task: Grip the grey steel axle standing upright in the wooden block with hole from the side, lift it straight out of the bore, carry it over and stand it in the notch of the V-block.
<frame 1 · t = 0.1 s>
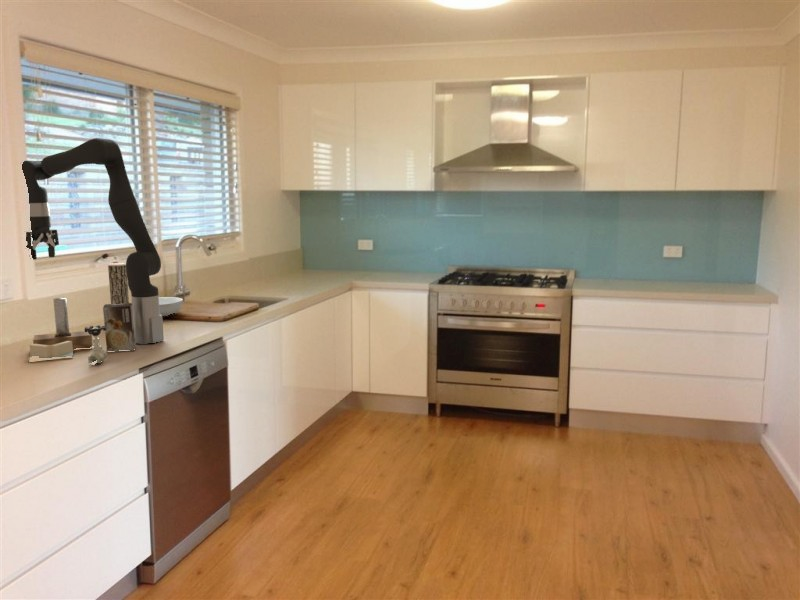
hand: (42, 258, 257), 29 cm above the table, tool pointing down, fingers open, 8 cm apart
v block: (52, 356, 228), on the table
serving bowl: (158, 316, 297), on the table
wooden log: (121, 325, 279), on the table
coffee box: (121, 350, 237), on the table
valve: (98, 364, 220), on the table
wooden block with hole: (64, 349, 239), on the table
axle: (62, 324, 237), in the wooden block with hole
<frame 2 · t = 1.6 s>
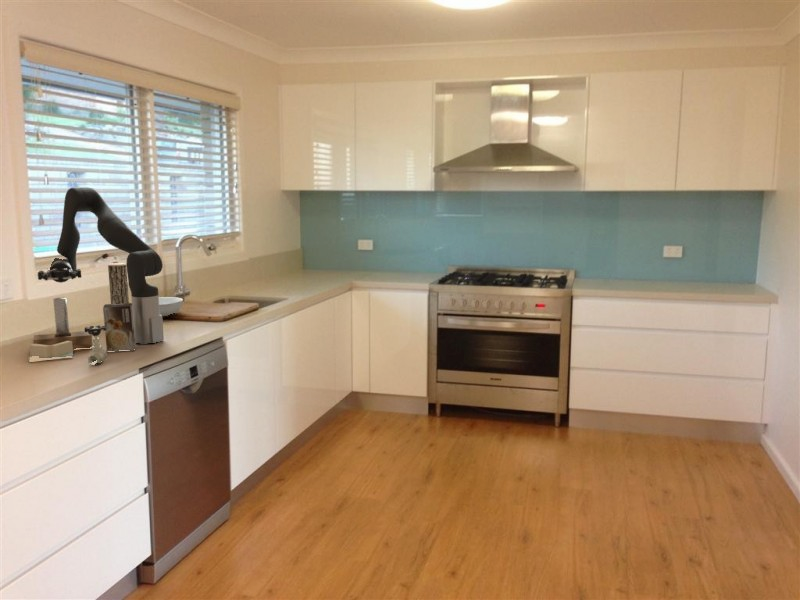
hand: (59, 277, 244), 24 cm above the table, tool horizontal, fingers open, 8 cm apart
nothing on the table moved.
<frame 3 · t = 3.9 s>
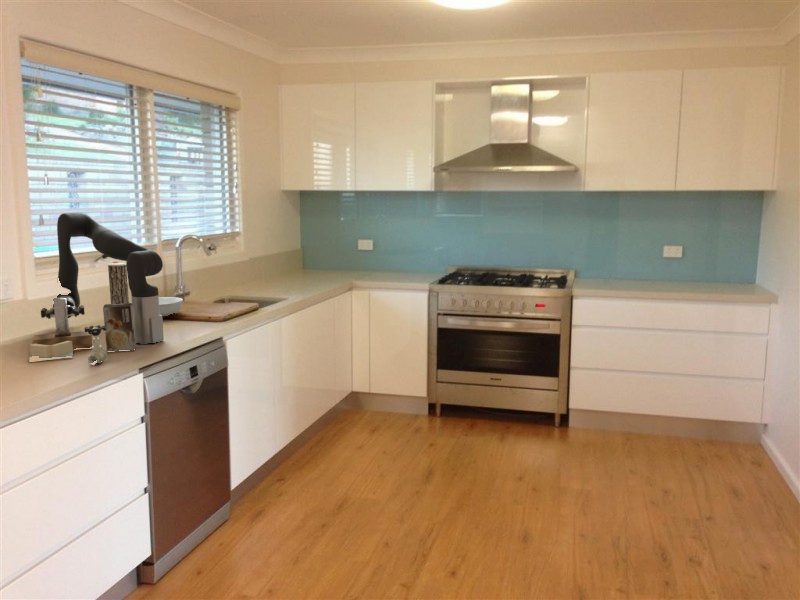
hand: (62, 314, 242), 11 cm above the table, tool horizontal, fingers open, 8 cm apart
nothing on the table moved.
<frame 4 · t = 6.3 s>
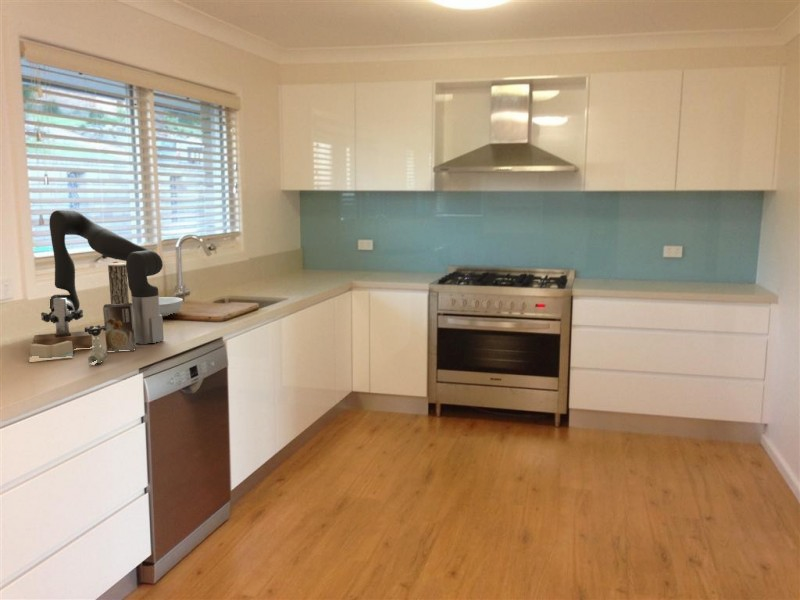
hand: (61, 319, 234), 11 cm above the table, tool horizontal, fingers closed on axle, 4 cm apart
axle: (62, 323, 237), in the wooden block with hole, touching gripper
everything else where it was.
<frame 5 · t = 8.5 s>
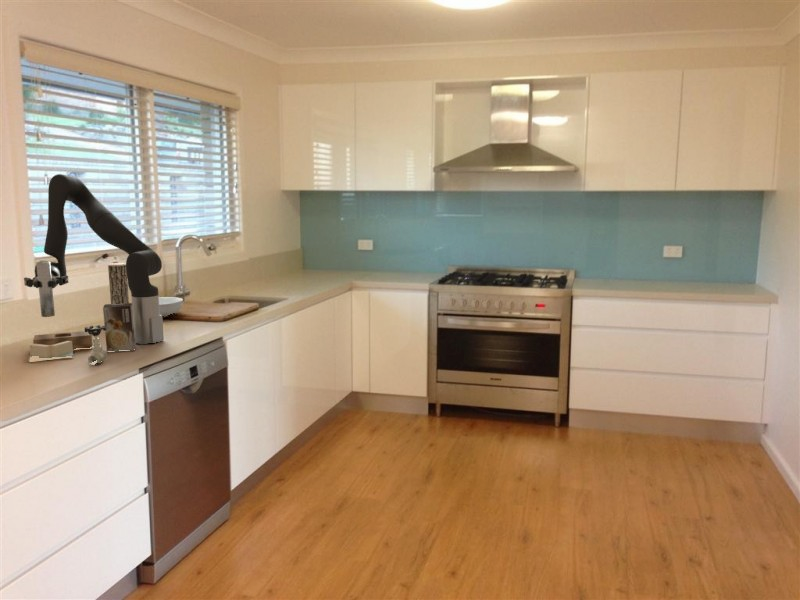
hand: (44, 284, 223), 25 cm above the table, tool horizontal, fingers closed on axle, 4 cm apart
axle: (45, 289, 226), point 23 cm above the table, touching gripper
everything else where it was.
when the fingers open (13 cm above the table, at t = 11.0 s): axle drops 1 cm, resting on v block.
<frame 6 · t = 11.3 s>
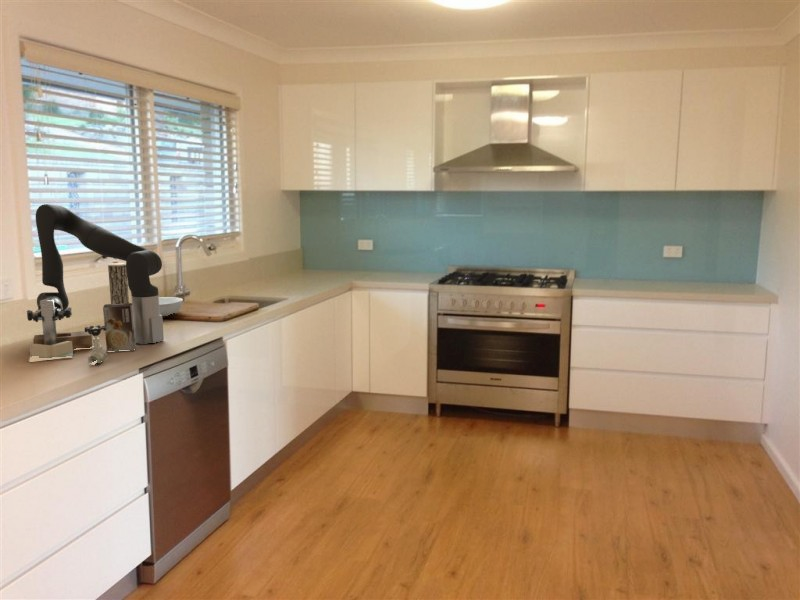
hand: (48, 317, 225), 13 cm above the table, tool horizontal, fingers open, 6 cm apart
axle: (49, 326, 227), point 10 cm above the table, touching v block
everything else where it was.
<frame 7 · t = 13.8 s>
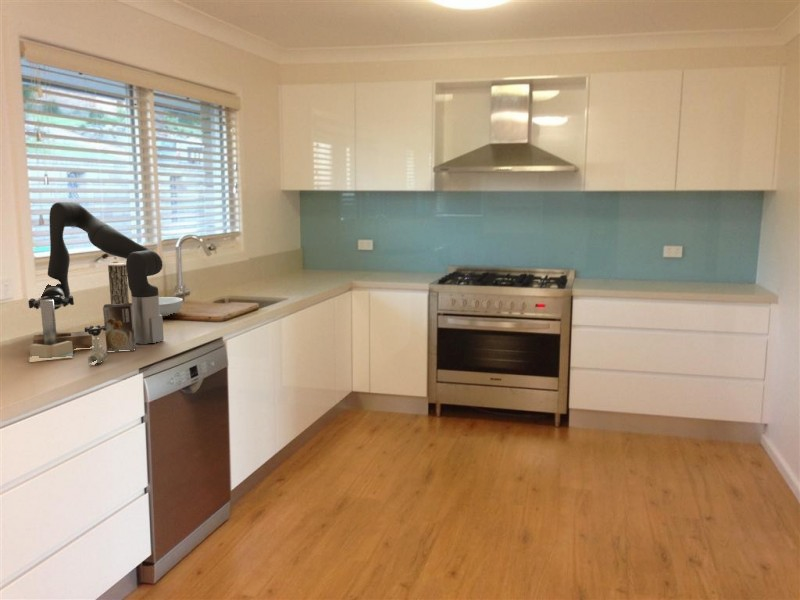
hand: (50, 304, 237), 16 cm above the table, tool horizontal, fingers open, 8 cm apart
nothing on the table moved.
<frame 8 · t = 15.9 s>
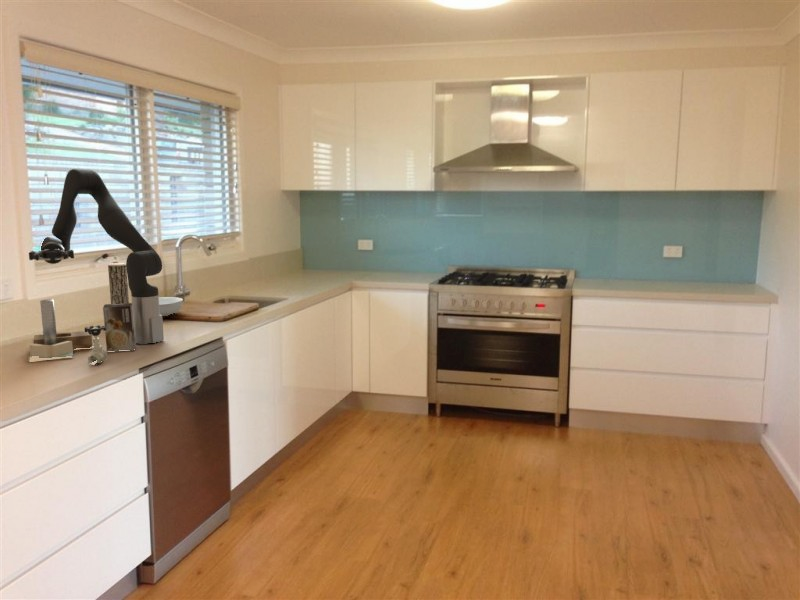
hand: (51, 256, 237), 32 cm above the table, tool horizontal, fingers open, 8 cm apart
nothing on the table moved.
at the end: axle inside the target area on the v block (1.1 cm from its centre), point 10.0 cm above the v block's base; axle tilted 0°; the gripper is holding nothing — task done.
